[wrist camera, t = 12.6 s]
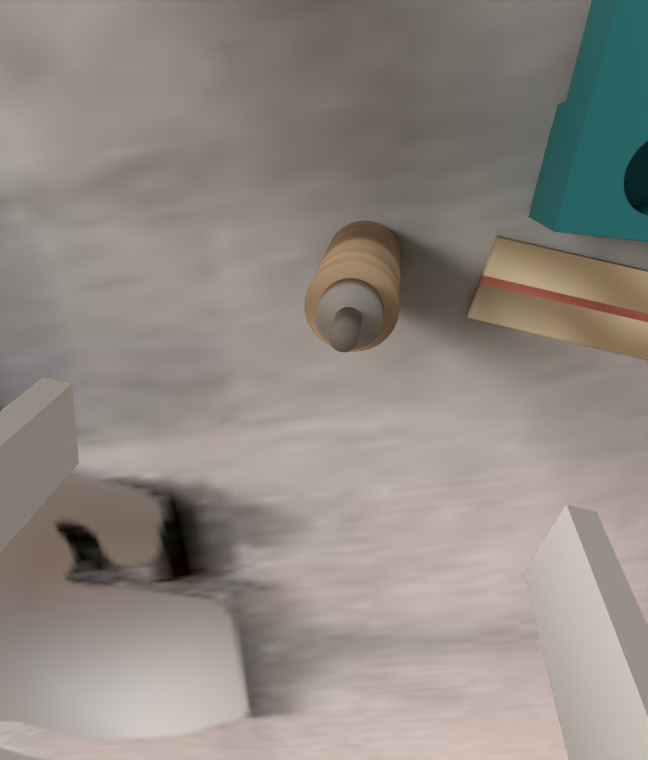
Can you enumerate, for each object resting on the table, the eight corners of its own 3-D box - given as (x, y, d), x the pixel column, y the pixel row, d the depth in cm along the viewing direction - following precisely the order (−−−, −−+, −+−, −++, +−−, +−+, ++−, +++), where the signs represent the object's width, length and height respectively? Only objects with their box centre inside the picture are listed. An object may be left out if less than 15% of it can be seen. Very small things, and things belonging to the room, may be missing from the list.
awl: (335, 213, 29) (300, 276, 19) (410, 230, 29) (410, 302, 19) (322, 284, 31) (283, 371, 22) (390, 300, 31) (382, 395, 22)
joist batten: (496, 235, 28) (497, 237, 28) (778, 300, 28) (783, 303, 27) (467, 315, 31) (467, 317, 30) (724, 375, 30) (727, 379, 30)
